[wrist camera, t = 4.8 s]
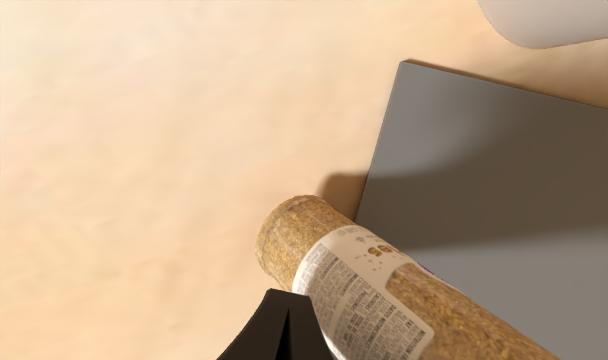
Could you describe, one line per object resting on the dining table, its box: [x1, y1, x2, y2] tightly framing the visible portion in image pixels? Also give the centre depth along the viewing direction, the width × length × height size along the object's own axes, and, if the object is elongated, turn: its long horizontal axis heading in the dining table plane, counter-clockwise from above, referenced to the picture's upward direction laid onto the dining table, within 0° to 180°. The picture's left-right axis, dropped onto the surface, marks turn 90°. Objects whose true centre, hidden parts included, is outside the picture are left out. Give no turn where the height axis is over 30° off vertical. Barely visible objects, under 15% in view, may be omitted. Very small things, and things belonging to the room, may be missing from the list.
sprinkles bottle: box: [256, 195, 562, 360], centre depth 11 cm, size 5×5×13 cm
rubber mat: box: [329, 61, 608, 360], centre depth 17 cm, size 18×18×1 cm
